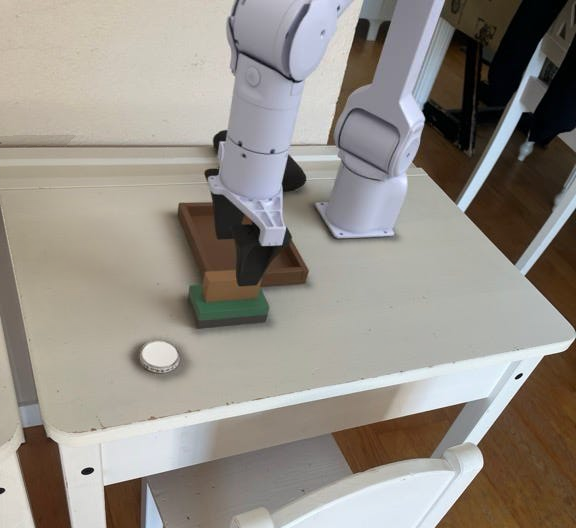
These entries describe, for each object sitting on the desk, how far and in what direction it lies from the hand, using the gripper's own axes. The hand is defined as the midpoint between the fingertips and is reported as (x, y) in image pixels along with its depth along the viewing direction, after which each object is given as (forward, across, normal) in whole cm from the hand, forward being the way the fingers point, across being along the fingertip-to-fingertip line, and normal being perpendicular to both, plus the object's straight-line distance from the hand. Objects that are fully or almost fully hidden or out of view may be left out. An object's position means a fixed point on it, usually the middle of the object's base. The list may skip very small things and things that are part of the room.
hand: (236, 259), depth 65 cm
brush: (+7, 0, 0) cm, 7 cm away
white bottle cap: (+8, +6, -9) cm, 13 cm away
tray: (+7, -11, +5) cm, 14 cm away
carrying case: (+8, -30, +13) cm, 33 cm away
